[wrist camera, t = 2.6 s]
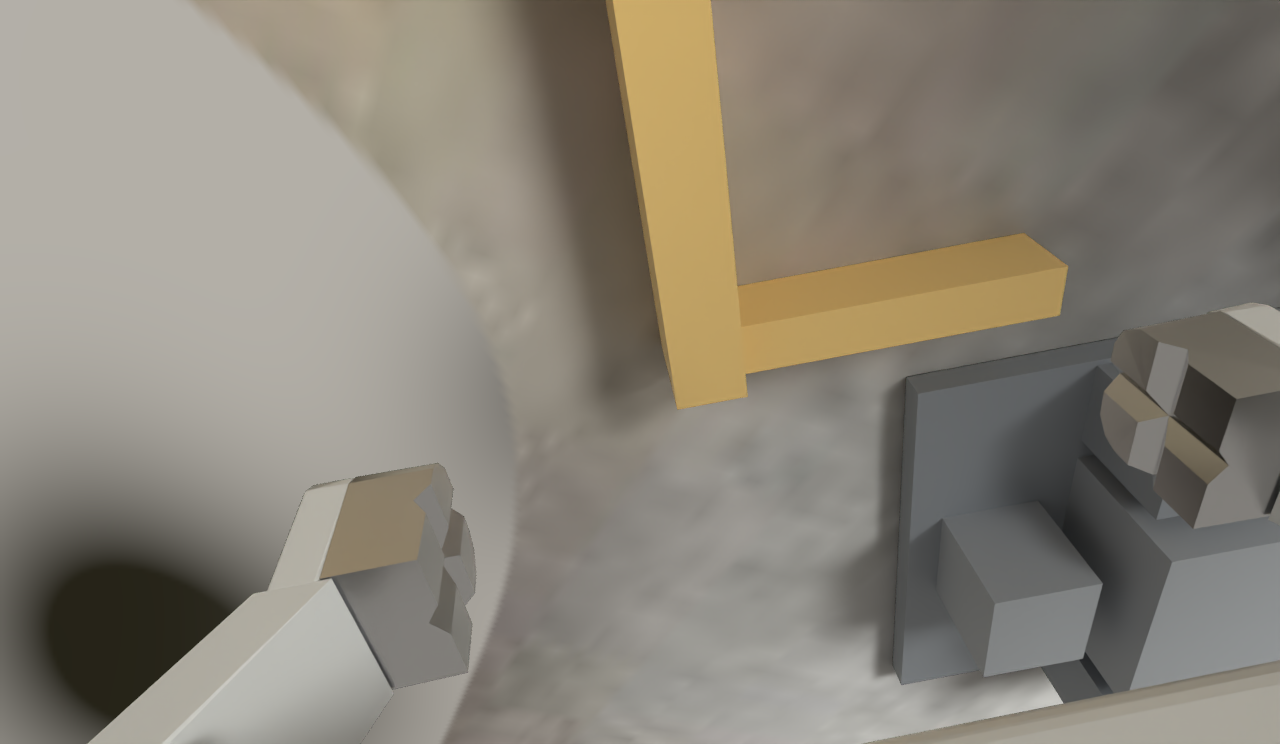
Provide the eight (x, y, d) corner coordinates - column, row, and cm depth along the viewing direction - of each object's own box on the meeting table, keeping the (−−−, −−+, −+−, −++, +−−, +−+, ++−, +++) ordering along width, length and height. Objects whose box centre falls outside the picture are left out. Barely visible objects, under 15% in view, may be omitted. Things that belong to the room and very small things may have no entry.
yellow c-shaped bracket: (1093, -293, 17) (1209, -327, 14) (1017, 279, 24) (1081, 334, 22) (573, -196, 17) (579, -210, 14) (661, 345, 24) (677, 409, 22)
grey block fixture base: (1312, 301, 26) (1494, 403, 21) (1196, 608, 35) (1305, 732, 30) (906, 377, 26) (991, 497, 21) (892, 665, 35) (950, 798, 30)
